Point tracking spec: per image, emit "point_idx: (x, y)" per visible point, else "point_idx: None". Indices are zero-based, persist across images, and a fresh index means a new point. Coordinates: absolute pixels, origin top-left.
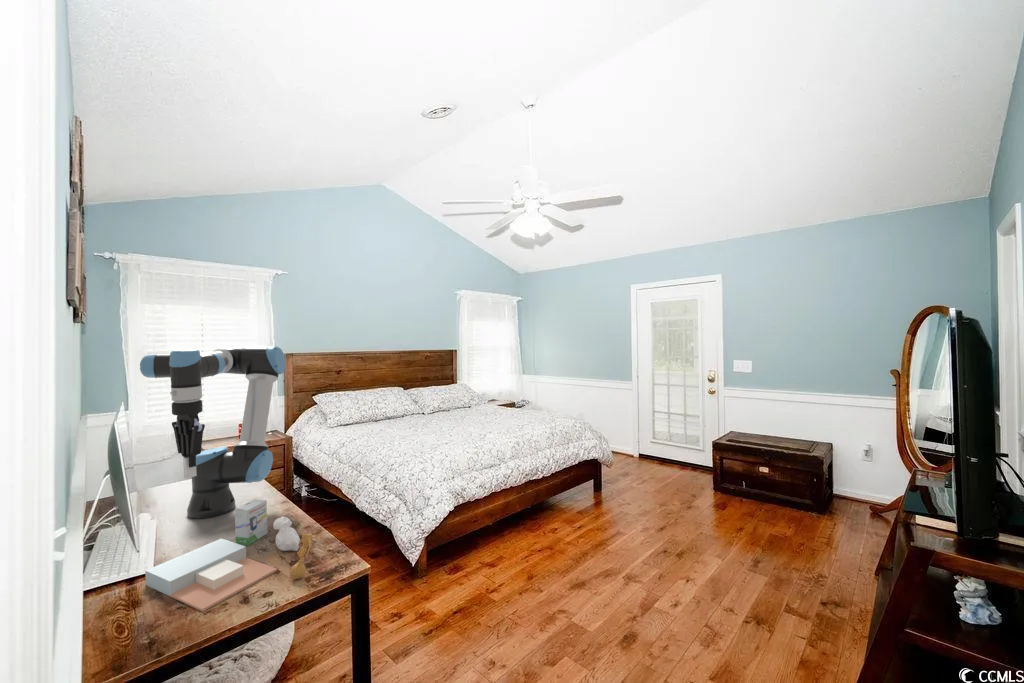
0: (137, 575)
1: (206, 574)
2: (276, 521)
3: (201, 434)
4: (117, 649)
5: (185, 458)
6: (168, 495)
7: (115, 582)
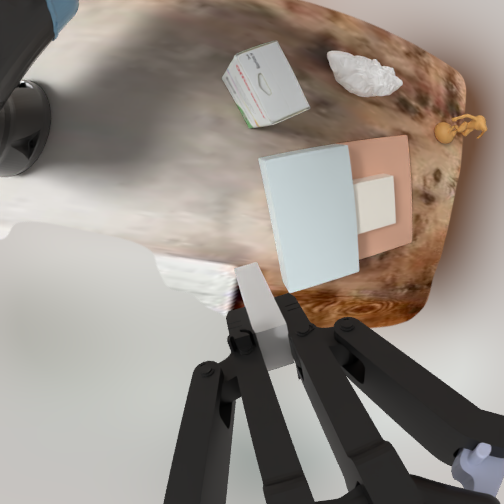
0: (234, 286)
1: (372, 224)
2: (385, 89)
3: (460, 402)
4: (394, 310)
5: (286, 360)
6: None
7: (232, 310)
